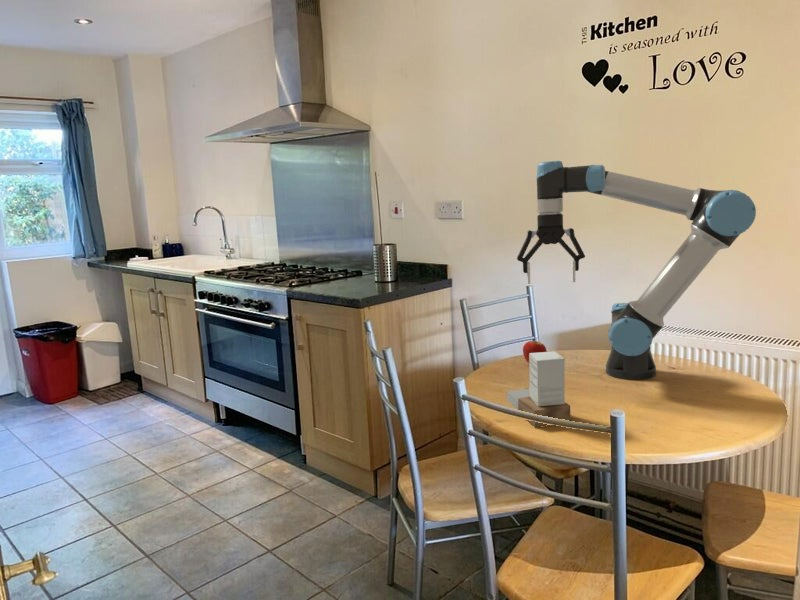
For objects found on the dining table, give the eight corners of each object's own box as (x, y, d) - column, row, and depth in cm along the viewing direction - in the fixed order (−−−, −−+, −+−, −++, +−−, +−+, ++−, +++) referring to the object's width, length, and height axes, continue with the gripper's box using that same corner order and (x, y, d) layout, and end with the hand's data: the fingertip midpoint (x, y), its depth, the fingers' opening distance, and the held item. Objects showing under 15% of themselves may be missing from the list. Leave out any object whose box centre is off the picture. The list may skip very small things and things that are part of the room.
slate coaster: (535, 397, 169) (535, 387, 169) (549, 408, 161) (548, 397, 160) (507, 401, 168) (506, 391, 167) (518, 411, 159) (518, 401, 159)
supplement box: (555, 395, 156) (555, 350, 153) (565, 405, 148) (565, 358, 146) (528, 397, 155) (528, 352, 153) (537, 407, 148) (537, 360, 146)
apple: (522, 361, 205) (521, 334, 204) (545, 361, 204) (545, 334, 202) (523, 368, 197) (523, 340, 196) (548, 367, 196) (547, 339, 194)
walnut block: (551, 410, 158) (551, 393, 157) (570, 423, 149) (570, 405, 148) (518, 415, 156) (518, 398, 155) (534, 429, 147) (534, 410, 146)
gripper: (589, 210, 176) (589, 279, 180) (507, 215, 179) (509, 282, 182) (595, 211, 169) (595, 282, 172) (509, 216, 171) (511, 285, 175)
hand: (550, 282), depth 177 cm, fingers open, 13 cm apart
